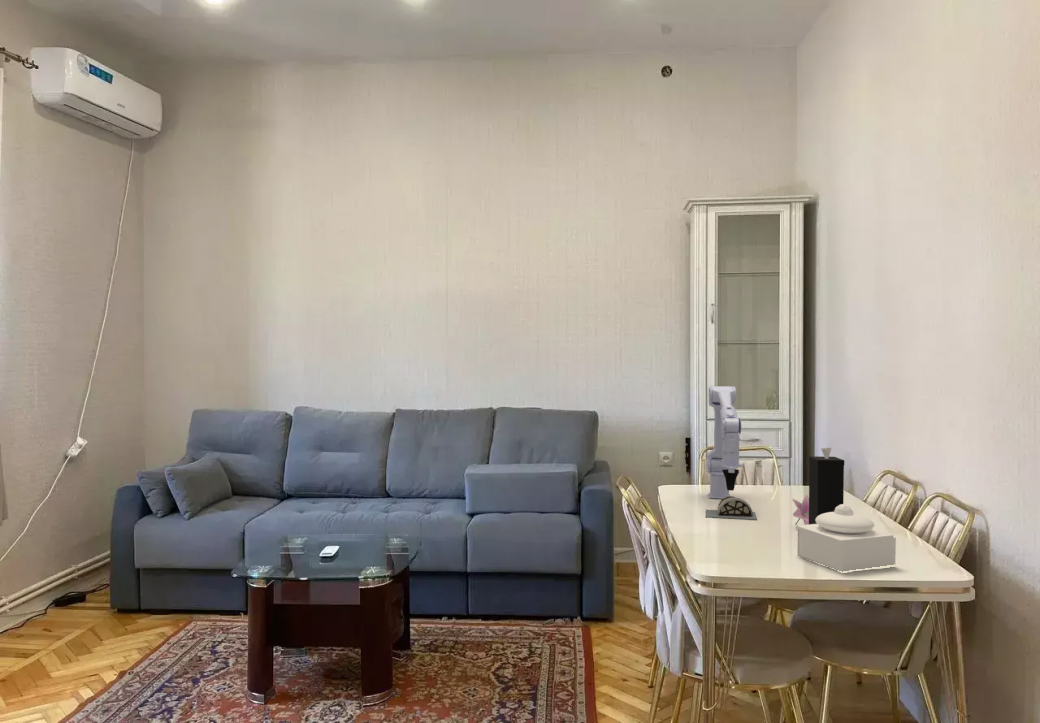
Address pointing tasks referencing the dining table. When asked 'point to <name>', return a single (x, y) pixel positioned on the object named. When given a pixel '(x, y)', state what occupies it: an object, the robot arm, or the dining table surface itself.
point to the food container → (734, 507)
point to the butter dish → (845, 541)
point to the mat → (714, 515)
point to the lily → (802, 510)
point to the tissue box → (825, 484)
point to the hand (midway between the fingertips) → (730, 490)
